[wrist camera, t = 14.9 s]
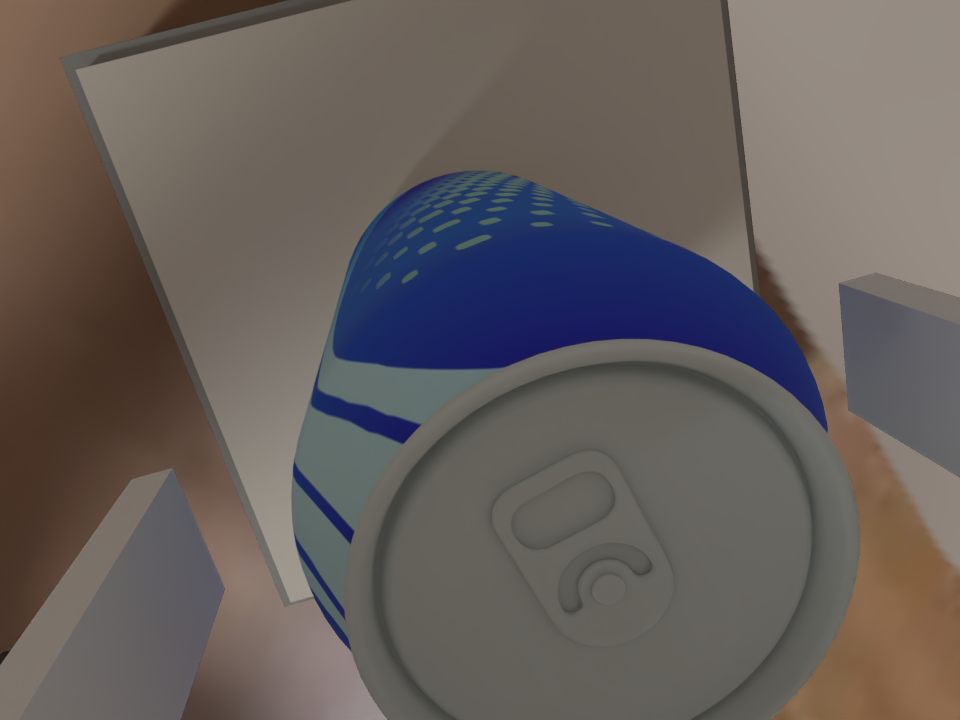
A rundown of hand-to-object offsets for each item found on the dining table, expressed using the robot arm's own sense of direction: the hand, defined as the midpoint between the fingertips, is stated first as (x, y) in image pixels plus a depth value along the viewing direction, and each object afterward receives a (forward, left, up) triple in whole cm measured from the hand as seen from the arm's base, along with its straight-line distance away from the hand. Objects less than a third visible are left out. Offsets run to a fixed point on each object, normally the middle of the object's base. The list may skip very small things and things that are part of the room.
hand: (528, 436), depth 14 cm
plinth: (0, 0, -16) cm, 16 cm away
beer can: (0, 0, -11) cm, 11 cm away
